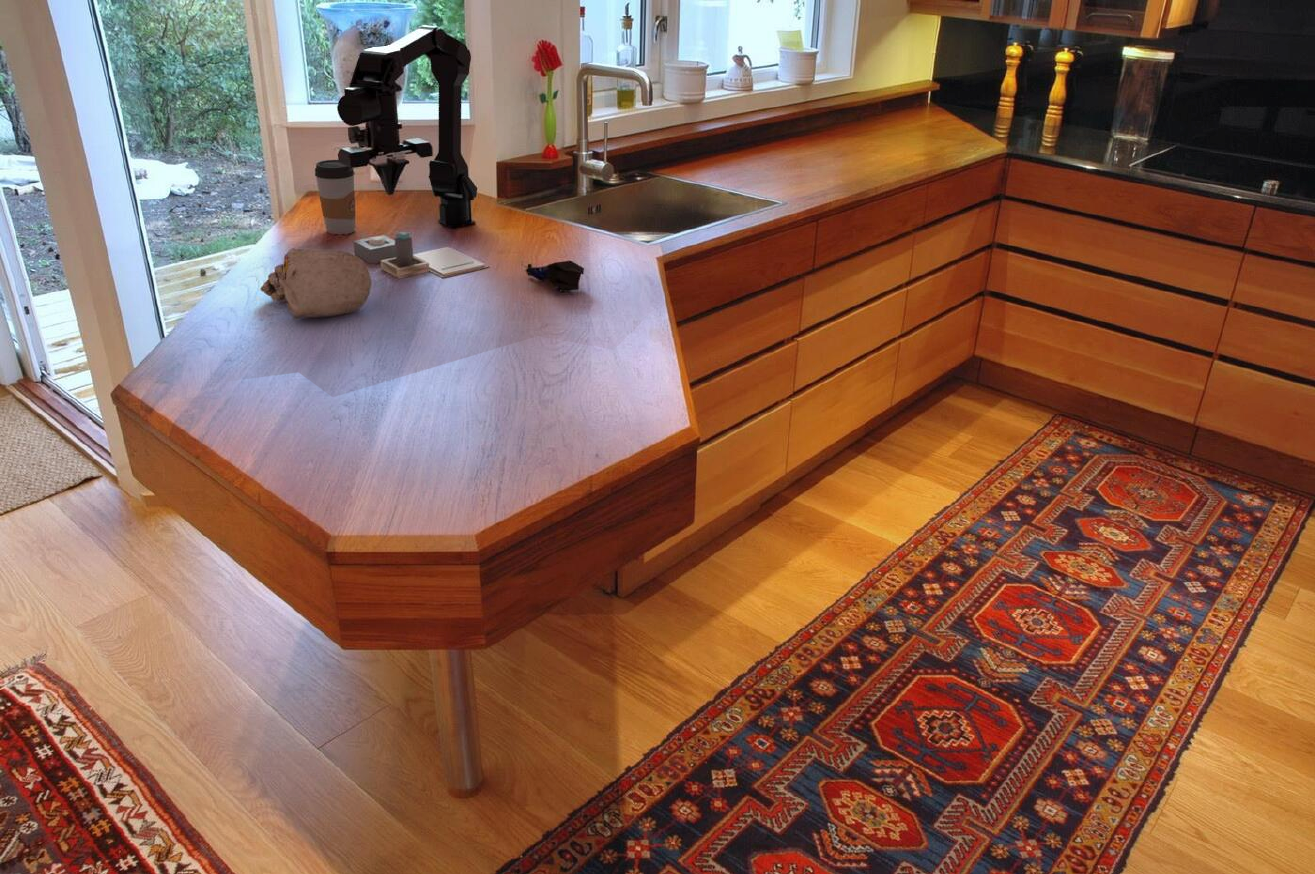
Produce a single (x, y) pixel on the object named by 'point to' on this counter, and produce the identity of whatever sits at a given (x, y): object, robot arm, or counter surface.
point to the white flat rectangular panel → (449, 262)
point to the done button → (376, 241)
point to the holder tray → (417, 268)
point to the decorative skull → (319, 282)
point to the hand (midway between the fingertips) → (389, 194)
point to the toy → (558, 274)
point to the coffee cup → (336, 196)
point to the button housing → (375, 250)
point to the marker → (404, 249)
